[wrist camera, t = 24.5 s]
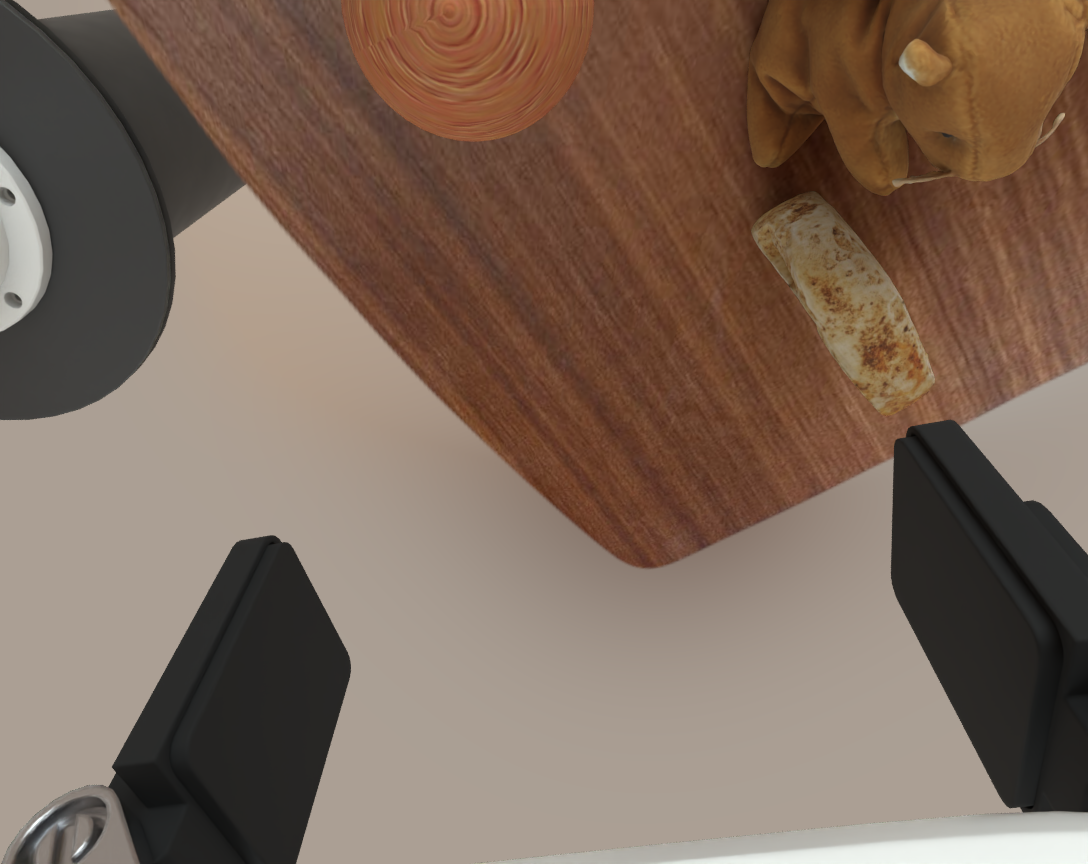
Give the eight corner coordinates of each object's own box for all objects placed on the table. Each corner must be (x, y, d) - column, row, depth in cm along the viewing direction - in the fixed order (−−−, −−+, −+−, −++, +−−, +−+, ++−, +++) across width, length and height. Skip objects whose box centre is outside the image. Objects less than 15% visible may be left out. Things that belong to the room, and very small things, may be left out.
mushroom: (585, -126, 30) (604, -182, 17) (584, 92, 34) (600, 174, 22) (385, -119, 30) (260, -170, 18) (409, 97, 35) (323, 181, 22)
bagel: (894, 316, 40) (984, 414, 31) (830, 355, 41) (900, 460, 33) (798, 155, 36) (872, 218, 27) (729, 204, 37) (780, 279, 28)
